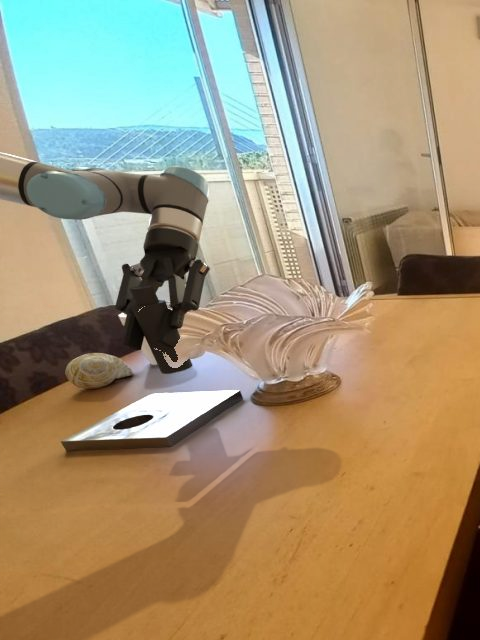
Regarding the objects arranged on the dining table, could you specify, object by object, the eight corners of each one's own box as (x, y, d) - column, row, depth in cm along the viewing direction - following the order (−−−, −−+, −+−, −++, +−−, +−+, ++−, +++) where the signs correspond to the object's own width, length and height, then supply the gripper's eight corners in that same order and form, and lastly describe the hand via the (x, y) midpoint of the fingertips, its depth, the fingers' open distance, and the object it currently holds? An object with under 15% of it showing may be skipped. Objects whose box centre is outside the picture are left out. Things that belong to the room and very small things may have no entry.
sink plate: (65, 451, 82) (60, 441, 81) (156, 401, 99) (152, 393, 98) (170, 447, 82) (166, 437, 82) (243, 398, 99) (240, 390, 98)
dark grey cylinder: (154, 374, 88) (115, 290, 82) (175, 364, 93) (139, 284, 86) (179, 373, 88) (142, 289, 82) (198, 363, 93) (165, 283, 86)
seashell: (125, 366, 115) (117, 334, 110) (142, 390, 112) (134, 359, 107) (64, 379, 107) (51, 346, 102) (80, 406, 105) (68, 373, 99)
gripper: (235, 246, 98) (218, 349, 89) (138, 252, 95) (111, 358, 87) (210, 223, 91) (189, 332, 83) (105, 228, 88) (71, 341, 80)
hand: (149, 345), depth 85 cm, fingers closed on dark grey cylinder, 5 cm apart
